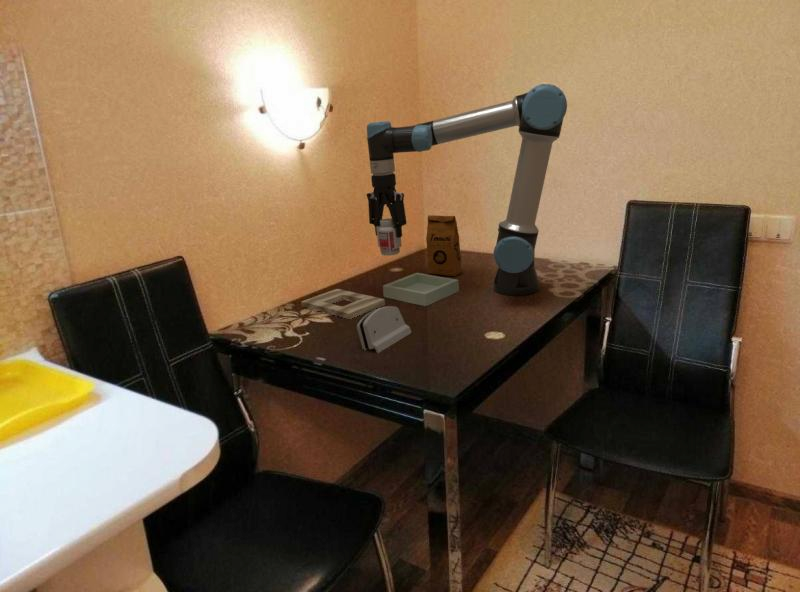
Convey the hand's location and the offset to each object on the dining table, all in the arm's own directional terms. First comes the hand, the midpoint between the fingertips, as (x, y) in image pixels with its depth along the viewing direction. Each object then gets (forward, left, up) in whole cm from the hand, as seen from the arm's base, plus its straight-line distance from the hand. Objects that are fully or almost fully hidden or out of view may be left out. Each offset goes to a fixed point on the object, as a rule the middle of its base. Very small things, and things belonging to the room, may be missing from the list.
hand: (389, 246), depth 189 cm
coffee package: (+3, -33, -18) cm, 38 cm away
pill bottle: (0, 0, -3) cm, 3 cm away
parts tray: (-5, -9, -18) cm, 21 cm away
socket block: (+9, +14, -18) cm, 25 cm away
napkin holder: (-21, +28, -18) cm, 40 cm away
